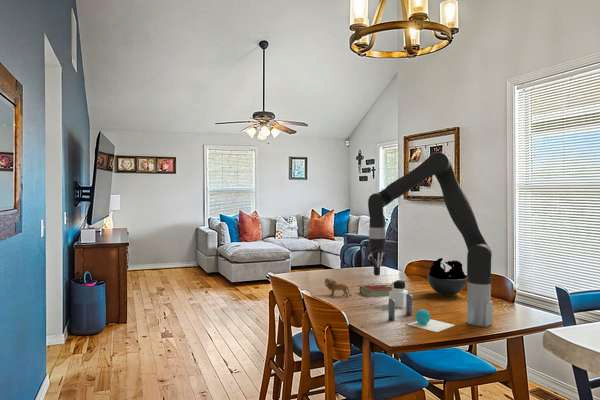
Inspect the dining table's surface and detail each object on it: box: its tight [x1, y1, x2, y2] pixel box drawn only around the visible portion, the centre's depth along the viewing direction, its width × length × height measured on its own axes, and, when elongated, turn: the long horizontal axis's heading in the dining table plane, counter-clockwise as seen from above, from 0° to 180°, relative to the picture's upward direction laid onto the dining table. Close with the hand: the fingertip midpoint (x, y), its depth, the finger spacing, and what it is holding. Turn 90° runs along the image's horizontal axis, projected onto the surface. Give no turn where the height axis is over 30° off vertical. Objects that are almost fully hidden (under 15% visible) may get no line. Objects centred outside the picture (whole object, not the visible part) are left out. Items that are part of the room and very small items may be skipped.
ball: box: [415, 309, 431, 324], centre depth 194 cm, size 6×6×6 cm
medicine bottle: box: [388, 279, 409, 309], centre depth 224 cm, size 7×7×12 cm
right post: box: [405, 293, 413, 317], centre depth 208 cm, size 3×3×9 cm
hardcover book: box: [359, 283, 393, 298], centre depth 251 cm, size 12×21×4 cm, turn 107°
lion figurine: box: [324, 277, 353, 298], centre depth 244 cm, size 15×5×9 cm, turn 74°
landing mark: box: [406, 318, 456, 333], centre depth 192 cm, size 14×14×1 cm
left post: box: [387, 298, 396, 322], centre depth 199 cm, size 3×3×9 cm
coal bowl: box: [427, 257, 468, 297], centre depth 247 cm, size 20×20×19 cm
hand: (376, 275), depth 212 cm, fingers closed
